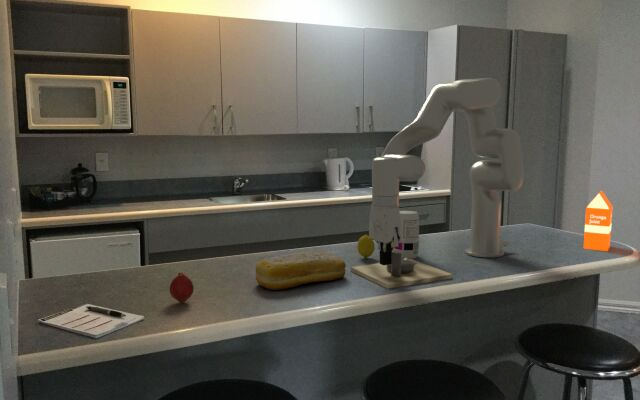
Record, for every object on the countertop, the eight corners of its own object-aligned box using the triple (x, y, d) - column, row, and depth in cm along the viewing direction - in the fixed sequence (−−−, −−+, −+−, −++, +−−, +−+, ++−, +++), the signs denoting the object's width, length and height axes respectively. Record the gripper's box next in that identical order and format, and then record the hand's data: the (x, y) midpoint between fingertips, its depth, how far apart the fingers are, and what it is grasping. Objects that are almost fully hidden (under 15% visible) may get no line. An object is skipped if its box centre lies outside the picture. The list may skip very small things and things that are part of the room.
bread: (247, 284, 155) (247, 256, 154) (325, 269, 170) (324, 244, 169) (271, 296, 144) (271, 267, 143) (352, 279, 159) (352, 252, 158)
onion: (172, 299, 142) (171, 268, 140) (195, 298, 142) (194, 268, 141) (168, 307, 136) (166, 275, 135) (192, 306, 136) (191, 274, 135)
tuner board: (410, 262, 177) (410, 258, 177) (452, 278, 159) (452, 273, 159) (350, 270, 167) (350, 266, 167) (387, 288, 150) (387, 284, 149)
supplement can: (390, 258, 182) (391, 213, 180) (396, 252, 190) (397, 209, 188) (415, 260, 179) (416, 214, 177) (420, 254, 187) (421, 211, 185)
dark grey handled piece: (393, 259, 174) (393, 239, 173) (419, 261, 172) (419, 241, 171) (381, 275, 156) (381, 253, 156) (409, 277, 154) (409, 255, 153)
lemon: (373, 261, 179) (373, 236, 178) (356, 260, 180) (356, 236, 179) (375, 256, 184) (375, 233, 183) (358, 256, 186) (358, 232, 184)
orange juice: (610, 246, 199) (614, 190, 196) (607, 251, 191) (611, 193, 188) (586, 243, 203) (589, 189, 200) (582, 248, 196) (586, 192, 193)
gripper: (360, 198, 161) (360, 260, 164) (389, 206, 148) (389, 272, 151) (381, 196, 165) (382, 256, 167) (412, 203, 151) (412, 268, 154)
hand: (385, 264), depth 159 cm, fingers closed
